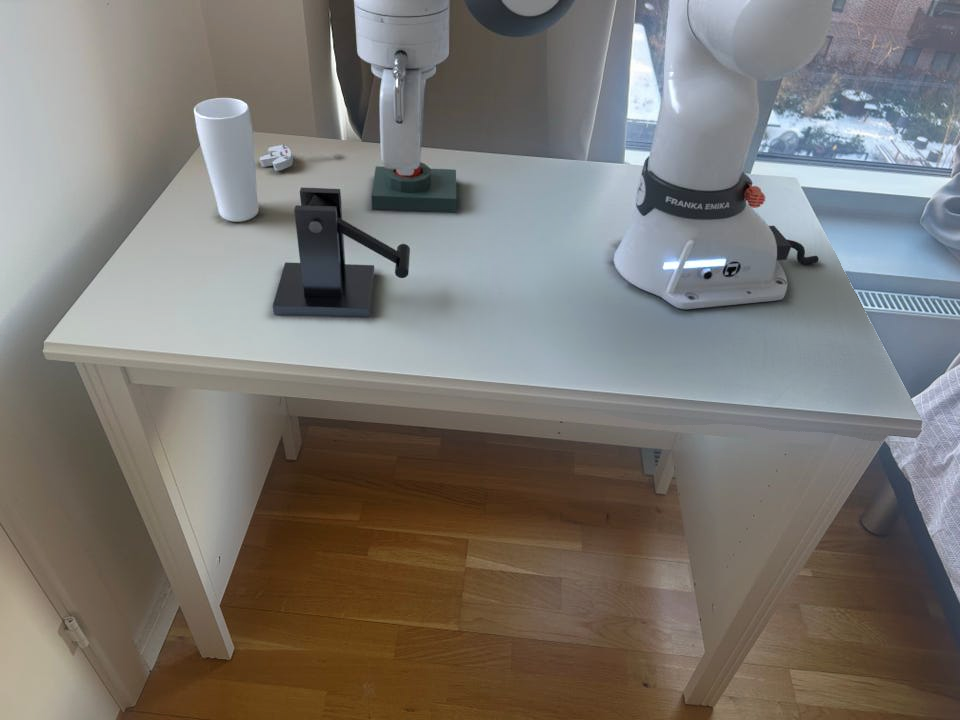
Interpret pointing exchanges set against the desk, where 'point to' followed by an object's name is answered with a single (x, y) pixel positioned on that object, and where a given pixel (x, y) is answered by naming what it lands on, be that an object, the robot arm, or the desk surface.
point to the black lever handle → (372, 242)
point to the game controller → (278, 157)
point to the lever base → (322, 265)
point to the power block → (415, 190)
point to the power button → (416, 173)
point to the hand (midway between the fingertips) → (406, 169)
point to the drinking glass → (229, 155)
